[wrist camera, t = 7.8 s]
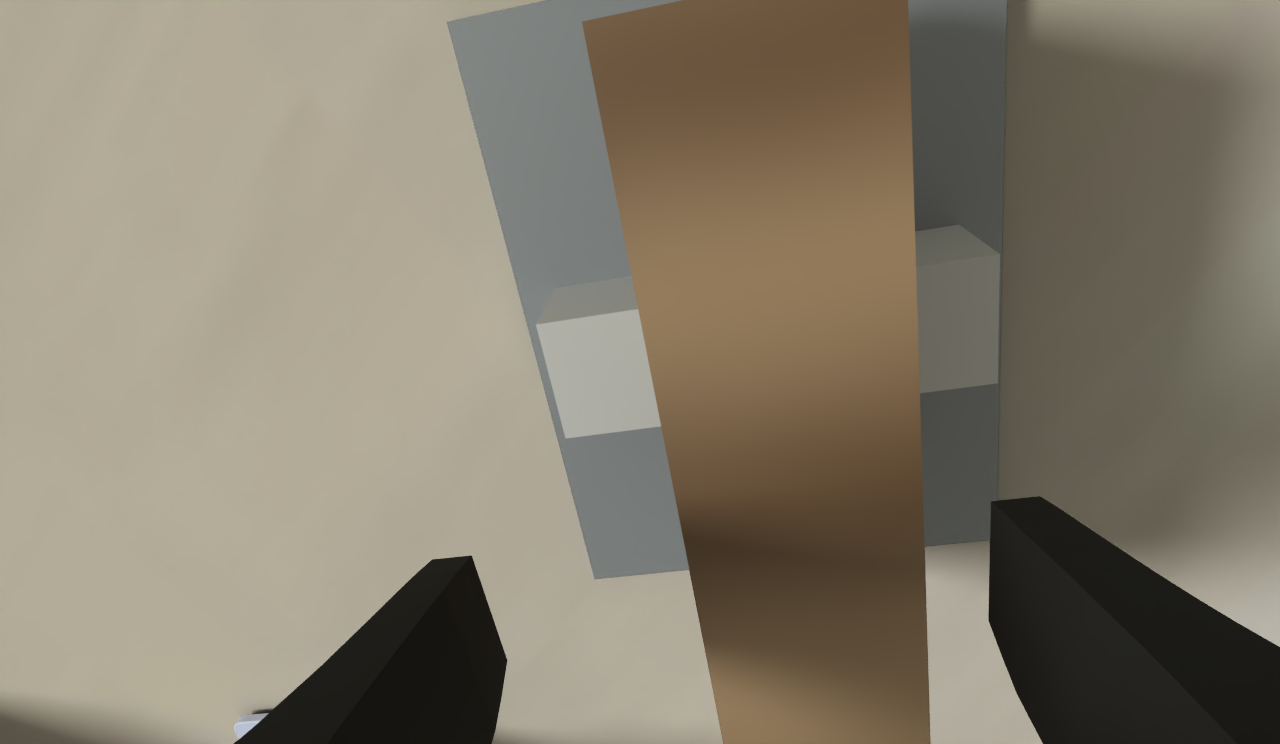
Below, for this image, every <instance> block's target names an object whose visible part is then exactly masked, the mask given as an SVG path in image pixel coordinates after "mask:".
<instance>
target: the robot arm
mask: <svg viewBox="0 0 1280 744" xmlns="http://www.w3.org/2000/svg"><path fill="white" fill-rule="evenodd" d="M989 623H990V625H991V628H992V631H993V633H994V636H995V639H996V641H997V644H998V647H999V649H1000V652H1001V655H1002V657H1003V660H1004V662H1005V665H1006V667H1007V670H1008V672H1009V675H1010V677H1011V680H1012V682H1013V685H1014V687H1015V690H1016V692H1017V695H1018V697H1019V698H1020V700H1021V702H1022V704H1023V706H1024V708H1025V710H1026V712H1027V714H1028V716H1029V718H1030V720H1031V722H1032V723H1033V725H1034V727H1035V729H1036V731H1037V733H1038V735H1039V737H1040V739H1041V741H1042V742H1043V744H1280V647H1278V646H1277V645H1275V644H1273V643H1271V642H1270V641H1268V640H1266V639H1264V638H1263V637H1261V636H1259V635H1258V634H1256V633H1254V632H1252V631H1251V630H1249V629H1247V628H1245V627H1244V626H1242V625H1240V624H1238V623H1237V622H1235V621H1233V620H1232V619H1230V618H1228V617H1227V616H1225V615H1223V614H1222V613H1220V612H1218V611H1217V610H1215V609H1213V608H1212V607H1210V606H1208V605H1207V604H1205V603H1203V602H1202V601H1200V600H1199V599H1197V598H1195V597H1194V596H1192V595H1191V594H1189V593H1187V592H1186V591H1184V590H1182V589H1181V588H1179V587H1178V586H1176V585H1175V584H1173V583H1171V582H1170V581H1168V580H1167V579H1165V578H1164V577H1162V576H1160V575H1159V574H1157V573H1156V572H1154V571H1153V570H1151V569H1150V568H1148V567H1146V566H1145V565H1143V564H1142V563H1140V562H1139V561H1137V560H1136V559H1134V558H1133V557H1131V556H1130V555H1128V554H1127V553H1125V552H1124V551H1122V550H1121V549H1119V548H1118V547H1116V546H1115V545H1113V544H1112V543H1110V542H1109V541H1107V540H1106V539H1104V538H1103V537H1101V536H1100V535H1098V534H1097V533H1095V532H1094V531H1092V530H1091V529H1089V528H1088V527H1086V526H1085V525H1083V524H1082V523H1080V522H1079V521H1077V520H1076V519H1074V518H1073V517H1071V516H1070V515H1068V514H1067V513H1065V512H1064V511H1062V510H1061V509H1059V508H1058V507H1056V506H1054V505H1053V504H1051V503H1050V502H1048V501H1047V500H1045V499H1043V498H1042V497H1040V496H1039V497H1029V498H1020V499H1010V500H1000V501H991V521H990V574H989ZM506 665H507V658H506V655H505V653H504V650H503V647H502V644H501V641H500V638H499V635H498V632H497V629H496V626H495V623H494V620H493V617H492V614H491V611H490V608H489V605H488V602H487V600H486V597H485V594H484V591H483V588H482V585H481V582H480V579H479V576H478V573H477V570H476V567H475V564H474V561H473V558H472V556H463V557H454V558H444V559H434V560H431V561H430V562H429V563H428V564H427V565H426V566H425V567H423V568H422V569H421V570H420V571H419V572H418V573H417V574H416V575H415V576H414V577H412V578H411V579H410V580H409V581H408V582H407V583H406V584H405V585H404V586H403V587H402V588H401V589H400V590H399V591H398V592H397V593H396V594H395V595H394V596H393V597H392V598H391V599H390V600H389V601H388V602H387V603H386V604H385V605H384V606H383V607H382V608H381V609H380V610H379V611H378V612H377V613H375V614H374V615H373V616H372V617H371V618H370V619H369V620H368V621H367V622H366V623H365V624H364V625H363V626H362V627H361V628H360V629H359V630H358V631H357V632H356V633H355V634H354V635H353V636H352V637H351V638H350V639H349V640H348V641H347V642H346V643H345V644H344V645H343V646H341V647H340V648H339V649H338V650H337V651H336V652H335V653H334V654H333V655H332V656H331V657H330V658H329V659H328V660H327V661H326V662H325V663H324V664H323V665H322V666H321V667H320V668H319V669H317V670H316V671H315V672H314V673H313V674H312V675H311V676H310V677H309V678H307V679H306V680H305V681H304V682H303V683H302V684H301V685H300V686H299V687H297V688H296V689H295V690H294V691H293V692H292V693H291V694H290V695H289V696H287V697H286V698H285V699H284V700H283V701H282V702H281V703H280V704H279V705H277V706H276V707H275V708H274V709H273V710H272V711H271V712H270V713H263V714H250V715H244V716H242V717H240V718H239V720H238V721H237V723H236V724H235V726H234V730H235V733H236V735H237V736H238V738H239V740H238V741H236V742H235V743H234V744H491V743H492V740H493V736H494V733H495V729H496V724H497V718H498V713H499V707H500V702H501V696H502V690H503V684H504V677H505V671H506Z"/></svg>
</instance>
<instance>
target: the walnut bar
mask: <svg viewBox="0 0 1280 744" xmlns="http://www.w3.org/2000/svg"><path fill="white" fill-rule="evenodd" d="M582 25H583V30H584V35H585V40H586V45H587V51H588V56H589V61H590V66H591V71H592V76H593V81H594V86H595V91H596V96H597V102H598V107H599V112H600V117H601V122H602V127H603V132H604V137H605V142H606V147H607V153H608V158H609V163H610V168H611V173H612V178H613V183H614V188H615V193H616V198H617V204H618V209H619V214H620V219H621V224H622V229H623V234H624V239H625V244H626V249H627V255H628V260H629V265H630V270H631V275H632V280H633V285H634V290H635V295H636V300H637V306H638V311H639V316H640V321H641V326H642V331H643V336H644V341H645V346H646V351H647V357H648V362H649V367H650V372H651V377H652V382H653V387H654V392H655V397H656V402H657V408H658V413H659V418H660V423H661V428H662V433H663V438H664V443H665V448H666V453H667V459H668V464H669V469H670V474H671V479H672V484H673V489H674V494H675V499H676V504H677V509H678V515H679V520H680V525H681V530H682V535H683V540H684V545H685V550H686V555H687V560H688V566H689V571H690V576H691V581H692V586H693V591H694V596H695V601H696V606H697V611H698V617H699V622H700V627H701V632H702V637H703V642H704V647H705V652H706V657H707V662H708V668H709V673H710V678H711V683H712V688H713V693H714V698H715V703H716V708H717V713H718V719H719V724H720V729H721V734H722V739H723V744H930V714H929V680H928V647H927V614H926V581H925V547H924V514H923V481H922V447H921V414H920V381H919V348H918V314H917V281H916V248H915V215H914V181H913V148H912V115H911V81H910V48H909V15H908V0H682V1H677V2H672V3H668V4H663V5H658V6H653V7H648V8H644V9H639V10H634V11H629V12H625V13H620V14H615V15H610V16H606V17H601V18H596V19H591V20H586V21H582Z"/></svg>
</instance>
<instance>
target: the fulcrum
mask: <svg viewBox="0 0 1280 744" xmlns="http://www.w3.org/2000/svg"><path fill="white" fill-rule="evenodd" d="M677 1H682V0H546V1H541V2H537V3H532V4H528V5H523V6H518V7H514V8H509V9H505V10H500V11H495V12H491V13H486V14H481V15H477V16H472V17H468V18H463V19H458V20H454V21H449V22H447V25H448V28H449V32H450V36H451V40H452V43H453V47H454V51H455V55H456V58H457V62H458V66H459V70H460V74H461V77H462V81H463V85H464V89H465V92H466V96H467V100H468V104H469V107H470V111H471V115H472V119H473V122H474V126H475V130H476V134H477V138H478V141H479V145H480V149H481V153H482V156H483V160H484V164H485V168H486V171H487V175H488V179H489V183H490V187H491V190H492V194H493V198H494V202H495V205H496V209H497V213H498V217H499V220H500V224H501V228H502V232H503V235H504V239H505V243H506V247H507V251H508V254H509V258H510V262H511V266H512V269H513V273H514V277H515V281H516V284H517V288H518V292H519V296H520V300H521V303H522V307H523V311H524V315H525V318H526V322H527V326H528V330H529V333H530V337H531V341H532V345H533V348H534V352H535V356H536V360H537V364H538V367H539V371H540V375H541V379H542V382H543V386H544V390H545V394H546V397H547V401H548V405H549V409H550V413H551V416H552V420H553V424H554V428H555V431H556V435H557V439H558V443H559V446H560V450H561V454H562V458H563V461H564V465H565V469H566V473H567V477H568V480H569V484H570V488H571V492H572V495H573V499H574V503H575V507H576V510H577V514H578V518H579V522H580V526H581V529H582V533H583V537H584V541H585V544H586V548H587V552H588V556H589V559H590V563H591V567H592V571H593V574H594V578H595V579H602V578H612V577H622V576H632V575H642V574H652V573H662V572H672V571H682V570H689V566H688V560H687V555H686V550H685V545H684V540H683V535H682V530H681V525H680V520H679V515H678V509H677V504H676V499H675V494H674V489H673V484H672V479H671V474H670V469H669V464H668V459H667V453H666V448H665V443H664V438H663V433H662V428H661V423H660V418H659V413H658V408H657V402H656V397H655V392H654V387H653V382H652V377H651V372H650V367H649V362H648V357H647V351H646V346H645V341H644V336H643V331H642V326H641V321H640V316H639V311H638V306H637V300H636V295H635V290H634V285H633V280H632V275H631V270H630V265H629V260H628V255H627V249H626V244H625V239H624V234H623V229H622V224H621V219H620V214H619V209H618V204H617V198H616V193H615V188H614V183H613V178H612V173H611V168H610V163H609V158H608V153H607V147H606V142H605V137H604V132H603V127H602V122H601V117H600V112H599V107H598V102H597V96H596V91H595V86H594V81H593V76H592V71H591V66H590V61H589V56H588V51H587V45H586V40H585V35H584V30H583V25H582V21H586V20H591V19H596V18H601V17H606V16H610V15H615V14H620V13H625V12H629V11H634V10H639V9H644V8H648V7H653V6H658V5H663V4H668V3H672V2H677ZM908 15H909V48H910V81H911V115H912V148H913V181H914V215H915V248H916V281H917V314H918V348H919V381H920V414H921V447H922V481H923V514H924V547H925V546H935V545H945V544H955V543H965V542H975V541H985V540H990V521H991V501H998V453H999V400H1000V347H1001V295H1002V242H1003V189H1004V136H1005V84H1006V31H1007V0H908Z"/></svg>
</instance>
